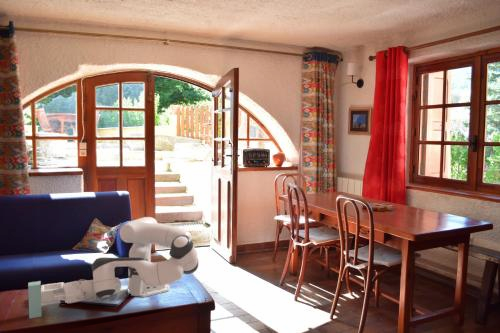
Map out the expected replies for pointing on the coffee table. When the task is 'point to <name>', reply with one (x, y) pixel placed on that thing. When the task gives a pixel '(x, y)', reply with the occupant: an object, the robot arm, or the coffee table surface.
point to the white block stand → (50, 294)
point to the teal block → (34, 299)
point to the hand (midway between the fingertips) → (53, 295)
